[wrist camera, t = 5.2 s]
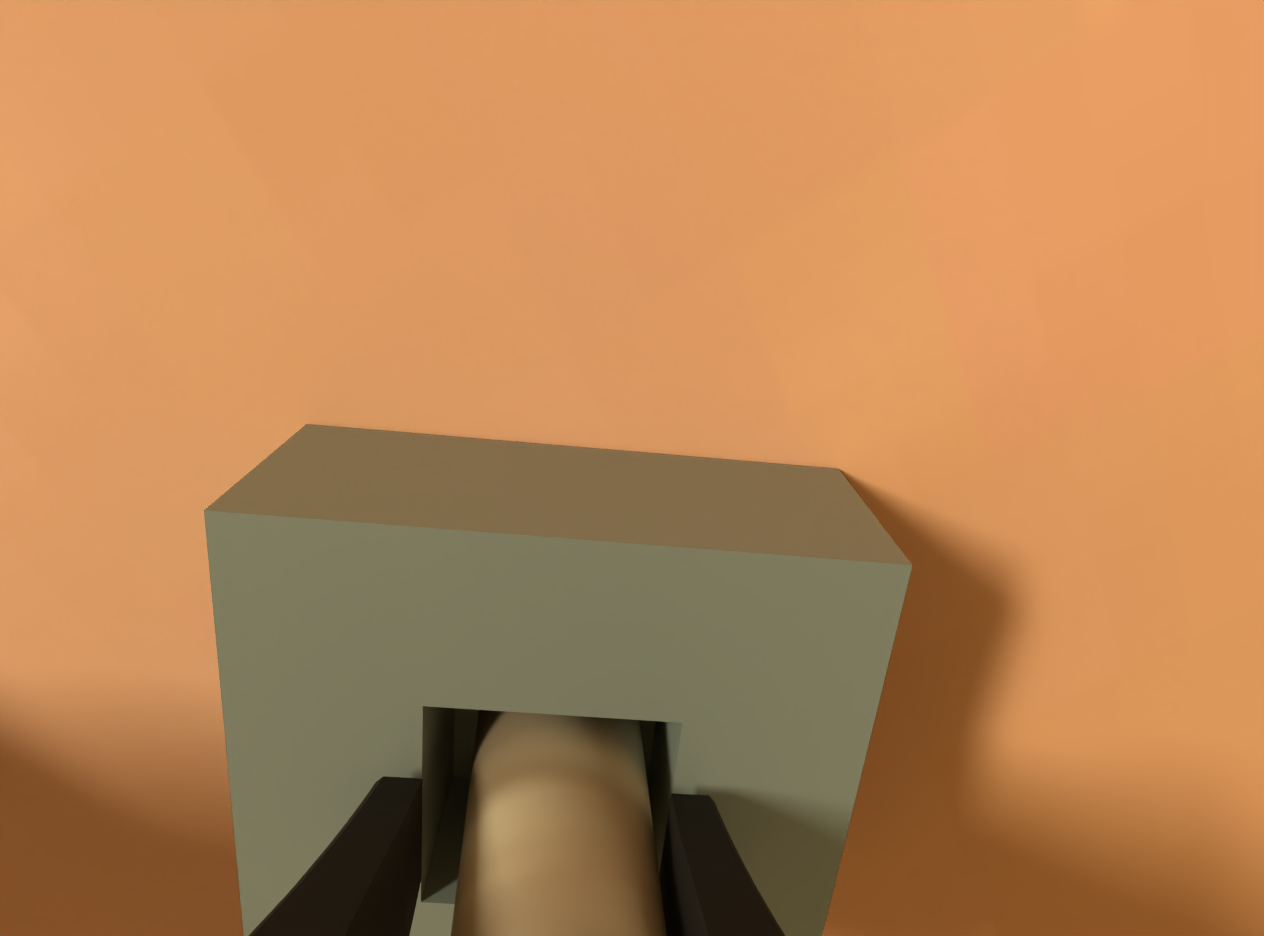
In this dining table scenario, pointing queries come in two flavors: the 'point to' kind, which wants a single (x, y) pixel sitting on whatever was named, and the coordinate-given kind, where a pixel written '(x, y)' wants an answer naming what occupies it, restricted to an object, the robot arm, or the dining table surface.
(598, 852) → the maple peg
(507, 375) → the dining table surface
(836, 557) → the socket block
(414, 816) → the robot arm
